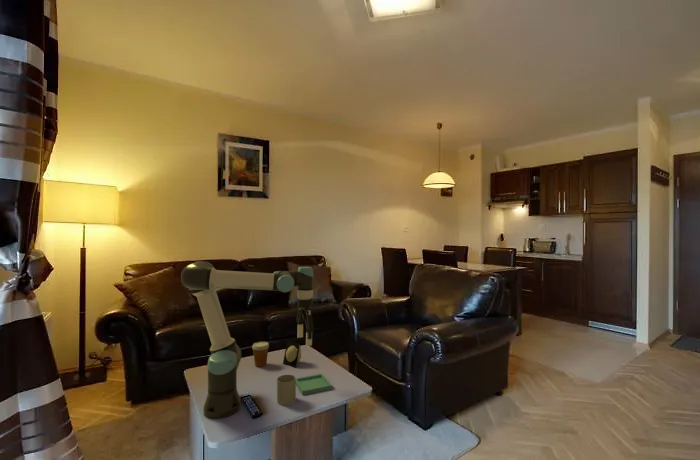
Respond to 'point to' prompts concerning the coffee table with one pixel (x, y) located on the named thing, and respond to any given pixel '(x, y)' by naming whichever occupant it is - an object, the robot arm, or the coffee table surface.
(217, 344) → the robot arm
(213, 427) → the coffee table surface
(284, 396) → the cup
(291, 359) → the decorative object
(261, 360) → the disposable coffee cup
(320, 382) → the tray
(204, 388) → the coffee table surface
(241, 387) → the coffee table surface
